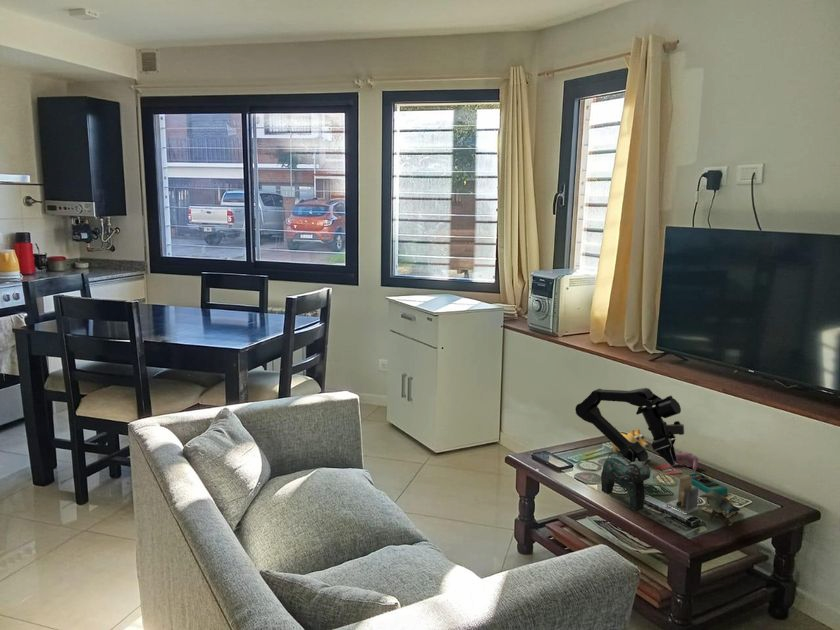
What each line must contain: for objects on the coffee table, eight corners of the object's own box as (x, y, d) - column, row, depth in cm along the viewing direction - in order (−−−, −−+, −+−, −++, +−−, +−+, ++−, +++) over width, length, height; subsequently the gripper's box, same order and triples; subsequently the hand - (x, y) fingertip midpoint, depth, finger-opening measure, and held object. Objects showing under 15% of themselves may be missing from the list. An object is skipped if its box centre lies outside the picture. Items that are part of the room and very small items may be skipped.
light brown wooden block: (674, 505, 222) (676, 478, 220) (685, 501, 225) (687, 474, 223) (680, 508, 220) (682, 481, 218) (691, 504, 223) (693, 477, 221)
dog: (639, 466, 258) (641, 436, 255) (603, 449, 275) (605, 421, 273) (653, 463, 261) (655, 433, 259) (617, 446, 279) (619, 418, 276)
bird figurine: (723, 503, 225) (711, 464, 216) (751, 514, 217) (739, 475, 208) (702, 530, 220) (689, 492, 211) (729, 543, 212) (717, 504, 203)
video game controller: (697, 472, 256) (699, 455, 257) (696, 471, 252) (698, 453, 254) (671, 467, 261) (673, 450, 262) (669, 466, 257) (672, 448, 259)
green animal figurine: (649, 510, 221) (653, 456, 218) (635, 514, 219) (639, 459, 215) (609, 487, 239) (612, 437, 235) (595, 491, 236) (598, 440, 233)
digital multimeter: (698, 478, 248) (699, 471, 247) (728, 494, 234) (728, 487, 233) (683, 481, 246) (683, 474, 245) (712, 498, 232) (712, 490, 231)
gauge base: (666, 506, 225) (667, 484, 223) (679, 501, 228) (681, 479, 227) (684, 514, 218) (686, 492, 217) (697, 509, 222) (699, 487, 221)
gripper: (673, 416, 222) (694, 459, 218) (678, 411, 238) (698, 451, 235) (643, 428, 226) (662, 470, 223) (650, 422, 243) (668, 461, 239)
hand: (674, 462), depth 230 cm, fingers open, 9 cm apart
